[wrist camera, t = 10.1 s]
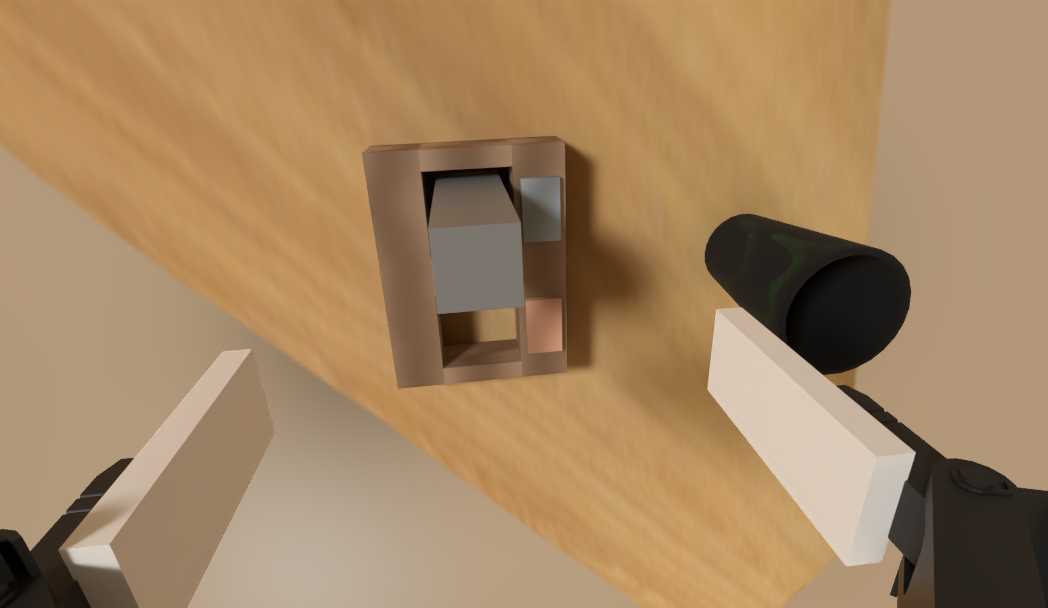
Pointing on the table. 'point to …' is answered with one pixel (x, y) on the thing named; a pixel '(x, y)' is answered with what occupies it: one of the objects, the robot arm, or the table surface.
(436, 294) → the plug
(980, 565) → the robot arm
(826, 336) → the cup
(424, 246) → the socket block
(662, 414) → the table surface
